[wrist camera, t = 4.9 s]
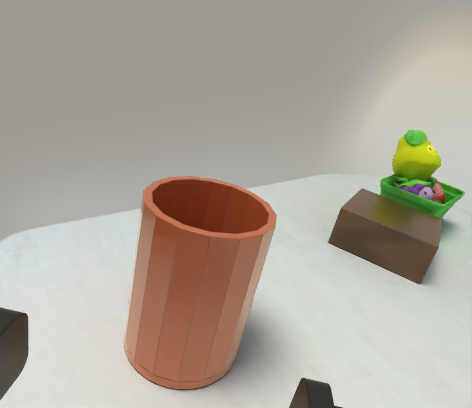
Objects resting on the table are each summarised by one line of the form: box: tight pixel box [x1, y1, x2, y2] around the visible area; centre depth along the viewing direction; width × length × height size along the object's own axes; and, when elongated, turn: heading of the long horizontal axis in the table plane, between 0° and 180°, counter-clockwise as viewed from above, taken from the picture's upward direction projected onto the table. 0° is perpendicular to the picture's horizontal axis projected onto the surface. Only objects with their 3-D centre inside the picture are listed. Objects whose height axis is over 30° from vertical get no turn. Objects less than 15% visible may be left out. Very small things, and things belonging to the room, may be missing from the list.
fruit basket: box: [380, 130, 465, 218], centre depth 46 cm, size 11×9×11 cm
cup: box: [124, 176, 277, 389], centre depth 19 cm, size 6×6×9 cm
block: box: [328, 189, 443, 284], centre depth 38 cm, size 9×9×4 cm
